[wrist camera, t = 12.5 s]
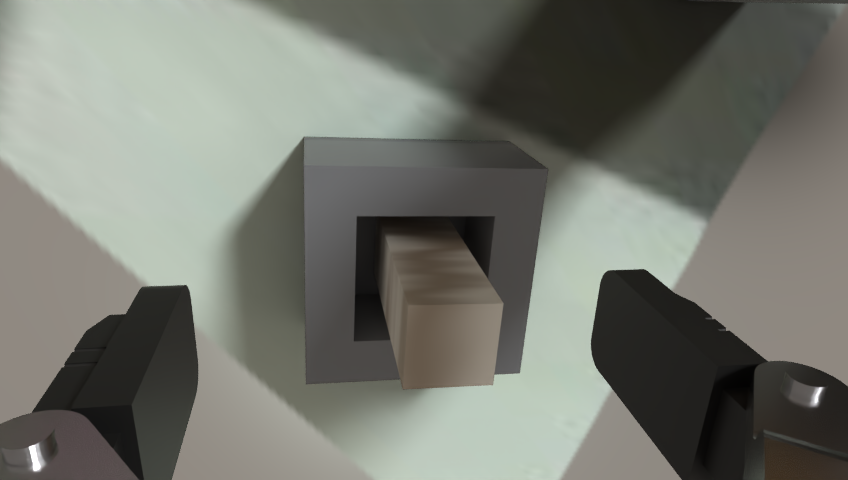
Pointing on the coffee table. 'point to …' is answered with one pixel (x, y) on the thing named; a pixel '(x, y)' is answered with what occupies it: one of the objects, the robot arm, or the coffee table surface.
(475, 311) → the wooden peg
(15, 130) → the coffee table surface
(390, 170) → the well block
